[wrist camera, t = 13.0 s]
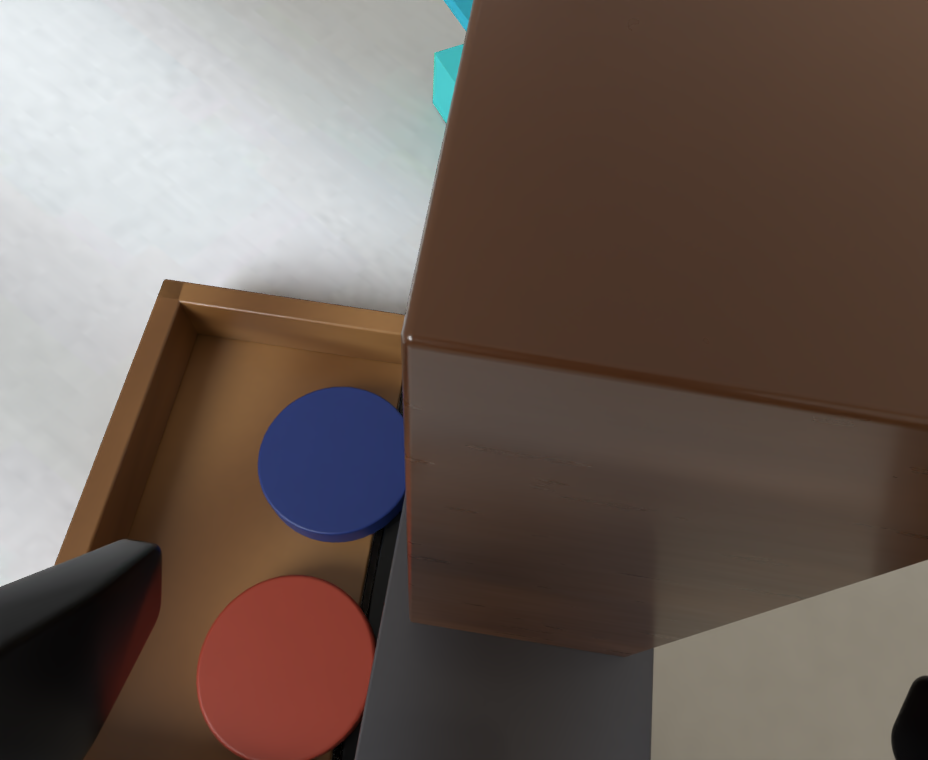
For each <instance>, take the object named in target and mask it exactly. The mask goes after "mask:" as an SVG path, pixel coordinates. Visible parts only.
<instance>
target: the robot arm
mask: <svg viewBox="0 0 928 760" xmlns="http://www.w3.org/2000/svg"><path fill="white" fill-rule="evenodd" d="M161 596H162V552H161V548H160V547H159V546H158V545H157V544H156V543H151V542H146V541H140V540H134V539H122V540H119V541H116V542H114V543H111V544H109V545H106V546H104V547H101V548H99V549H96V550H93V551H91V552H88V553H86V554H83V555H81V556H78V557H76V558H73V559H70V560H68V561H65V562H63V563H60V564H58V565H55V566H53V567H50V568H47V569H45V570H42V571H40V572H37V573H35V574H32V575H30V576H27V577H24V578H22V579H19V580H17V581H14V582H12V583H9V584H6V585H4V586H1V587H0V760H83V759H84V758H85V756H86V755H87V753H88V751H89V750H90V748H91V746H92V745H93V743H94V742H95V740H96V738H97V736H98V734H99V732H100V731H101V729H102V727H103V725H104V723H105V721H106V719H107V718H108V716H109V714H110V712H111V710H112V708H113V706H114V704H115V702H116V700H117V698H118V696H119V694H120V692H121V690H122V688H123V686H124V684H125V682H126V680H127V678H128V676H129V675H130V673H131V671H132V669H133V667H134V665H135V663H136V661H137V659H138V657H139V655H140V653H141V651H142V649H143V647H144V645H145V643H146V641H147V639H148V637H149V635H150V633H151V632H152V630H153V628H154V626H155V624H156V621H157V619H158V616H159V612H160V608H161ZM891 745H892V751H893V754H894V757H895V760H928V676H927V675H924V676H920V677H918V678H917V679H916V680H914V681H913V683H912V685H911V687H910V689H909V691H908V693H907V696H906V698H905V700H904V702H903V705H902V707H901V709H900V711H899V714H898V716H897V718H896V720H895V723H894V725H893V728H892V733H891Z"/></svg>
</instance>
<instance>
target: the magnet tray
mask: <svg viewBox="0 0 928 760" xmlns="http://www.w3.org/2000/svg"><path fill="white" fill-rule="evenodd" d="M404 317H405V315H403V314H396V313H389V312H383V311H376V310H369V309H363V308H356V307H349V306H342V305H336V304H329V303H322V302H315V301H309V300H302V299H295V298H289V297H282V296H275V295H268V294H262V293H255V292H248V291H242V290H235V289H228V288H221V287H215V286H208V285H201V284H195V283H188V282H181V281H174V280H168V279H166V280H164V281H163V284H162V286H161V289H160V292H159V294H158V297H157V299H156V302H155V305H154V307H153V310H152V312H151V315H150V318H149V320H148V323H147V325H146V328H145V331H144V333H143V336H142V338H141V341H140V344H139V346H138V349H137V351H136V354H135V357H134V359H133V362H132V364H131V367H130V370H129V372H128V375H127V377H126V380H125V383H124V385H123V388H122V390H121V393H120V396H119V398H118V401H117V403H116V406H115V409H114V411H113V414H112V416H111V419H110V422H109V424H108V427H107V430H106V432H105V435H104V437H103V440H102V443H101V445H100V448H99V450H98V453H97V456H96V458H95V461H94V463H93V466H92V469H91V471H90V474H89V476H88V479H87V482H86V484H85V487H84V489H83V492H82V495H81V497H80V500H79V502H78V505H77V508H76V510H75V513H74V515H73V518H72V521H71V523H70V526H69V528H68V531H67V534H66V536H65V539H64V541H63V544H62V547H61V549H60V552H59V554H58V557H57V560H56V562H55V565H58V564H60V563H63V562H65V561H68V560H70V559H73V558H76V557H78V556H81V555H83V554H86V553H88V552H91V551H93V550H96V549H99V548H101V547H104V546H106V545H109V544H111V543H114V542H116V541H119V540H122V539H134V540H140V541H146V542H151V543H156V544H157V545H158V546H159V547H160V548H161V552H162V596H161V608H160V612H159V616H158V619H157V621H156V624H155V626H154V628H153V630H152V632H151V633H150V635H149V637H148V639H147V641H146V643H145V645H144V647H143V649H142V651H141V653H140V655H139V657H138V659H137V661H136V663H135V665H134V667H133V669H132V671H131V673H130V675H129V676H128V678H127V680H126V682H125V684H124V686H123V688H122V690H121V692H120V694H119V696H118V698H117V700H116V702H115V704H114V706H113V708H112V710H111V712H110V714H109V716H108V718H107V719H106V721H105V723H104V725H103V727H102V729H101V731H100V732H99V734H98V736H97V738H96V740H95V742H94V743H93V745H92V746H91V748H90V750H89V751H88V753H87V755H86V756H85V758H84V759H83V760H245V759H243V758H241V757H239V756H236V755H235V754H234V753H232V752H231V751H229V750H228V749H226V748H225V747H224V746H223V745H222V744H221V743H220V742H219V741H218V740H217V738H216V737H215V736H214V734H213V733H212V732H211V731H210V729H209V727H208V725H207V723H206V722H205V720H204V717H203V714H202V712H201V709H200V705H199V701H198V697H197V687H196V675H197V665H198V659H199V655H200V652H201V648H202V645H203V643H204V640H205V638H206V635H207V633H208V631H209V630H210V628H211V626H212V624H213V623H214V621H215V620H216V618H217V617H218V616H219V614H220V613H221V612H222V611H223V609H224V608H225V607H226V606H227V605H228V604H229V603H230V602H231V601H232V600H233V599H235V598H236V597H237V596H238V595H239V594H241V593H242V592H244V591H245V590H247V589H248V588H250V587H252V586H254V585H256V584H257V583H260V582H262V581H265V580H267V579H271V578H274V577H278V576H285V575H307V576H314V577H317V578H320V579H324V580H326V581H328V582H331V583H333V584H335V585H336V586H338V587H339V588H341V589H343V590H344V591H345V592H346V593H347V594H349V595H350V596H351V597H352V598H353V599H354V600H355V602H356V603H357V604H358V605H359V606H360V608H361V604H362V599H363V594H364V588H365V583H366V578H367V573H368V567H369V562H370V557H371V552H372V546H373V541H374V536H375V533H373V534H371V535H369V536H366V537H364V538H361V539H357V540H354V541H348V542H335V543H332V542H322V541H318V540H314V539H311V538H308V537H306V536H303V535H301V534H299V533H298V532H296V531H294V530H293V529H292V528H290V527H289V526H288V525H286V524H285V523H284V522H283V521H282V520H281V519H280V517H279V516H278V515H277V513H276V512H275V511H274V509H273V508H272V507H271V505H270V504H269V503H268V501H267V499H266V497H265V495H264V494H263V491H262V488H261V485H260V481H259V476H258V455H259V450H260V446H261V443H262V440H263V438H264V435H265V433H266V432H267V430H268V428H269V426H270V425H271V423H272V422H273V420H274V419H275V418H276V417H277V416H278V415H279V413H280V412H281V411H282V410H283V409H285V408H286V407H287V406H288V405H289V404H291V403H292V402H294V401H295V400H297V399H298V398H300V397H302V396H304V395H306V394H308V393H311V392H313V391H316V390H320V389H324V388H330V387H354V388H359V389H363V390H366V391H369V392H372V393H374V394H376V395H378V396H380V397H382V398H384V399H385V400H387V401H388V402H390V403H391V404H392V405H393V406H394V407H395V408H396V409H397V410H399V405H400V399H401V394H402V360H401V331H402V327H403V322H404ZM55 565H54V566H55ZM333 751H334V749H332V750H331V751H329V752H327V753H326V754H324V755H322V756H320V757H317V758H315V759H313V760H332V757H333Z"/></svg>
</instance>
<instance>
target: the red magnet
mask: <svg viewBox="0 0 928 760" xmlns="http://www.w3.org/2000/svg"><path fill="white" fill-rule="evenodd" d="M376 644H377V642H376V638H375V635H374V632H373V629H372V627H371V625H370V623H369V621H368V619H367V617H366V615H365V614H364V612H363V611H362V609H361V608H360V606H359V605H358V604H357V603H356V602H355V600H354V599H353V598H352V597H351V596H350V595H349V594H347V593H346V592H345V591H344V590H343V589H341V588H339V587H338V586H336V585H335V584H333V583H331V582H328V581H326V580H324V579H320V578H317V577H314V576H307V575H285V576H278V577H274V578H271V579H267V580H265V581H262V582H260V583H257V584H256V585H254V586H252V587H250V588H248V589H247V590H245V591H244V592H242V593H241V594H239V595H238V596H237V597H236V598H235V599H233V600H232V601H231V602H230V603H229V604H228V605H227V606H226V607H225V608H224V609H223V611H222V612H221V613H220V614H219V616H218V617H217V618H216V620H215V621H214V623H213V624H212V626H211V628H210V630H209V631H208V633H207V635H206V638H205V640H204V643H203V645H202V648H201V652H200V655H199V659H198V665H197V675H196V687H197V697H198V701H199V705H200V709H201V712H202V714H203V717H204V720H205V722H206V723H207V725H208V727H209V729H210V731H211V732H212V733H213V734H214V736H215V737H216V738H217V740H218V741H219V742H220V743H221V744H222V745H223V746H224V747H225V748H226V749H228V750H229V751H231V752H232V753H234V754H235V755H236V756H239V757H241V758H243V759H245V760H313V759H315V758H317V757H320V756H322V755H324V754H326V753H327V752H329V751H331V750H332V749H334V748H335V747H337V746H338V745H339V744H340V743H341V742H343V741H344V740H345V739H346V738H347V737H348V736H349V735H350V734H351V733H352V732H353V731H354V730H355V728H356V727H357V726H358V724H359V723H360V722H361V720H362V717H363V711H364V706H365V701H366V696H367V691H368V685H369V680H370V675H371V670H372V664H373V659H374V654H375V649H376Z"/></svg>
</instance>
